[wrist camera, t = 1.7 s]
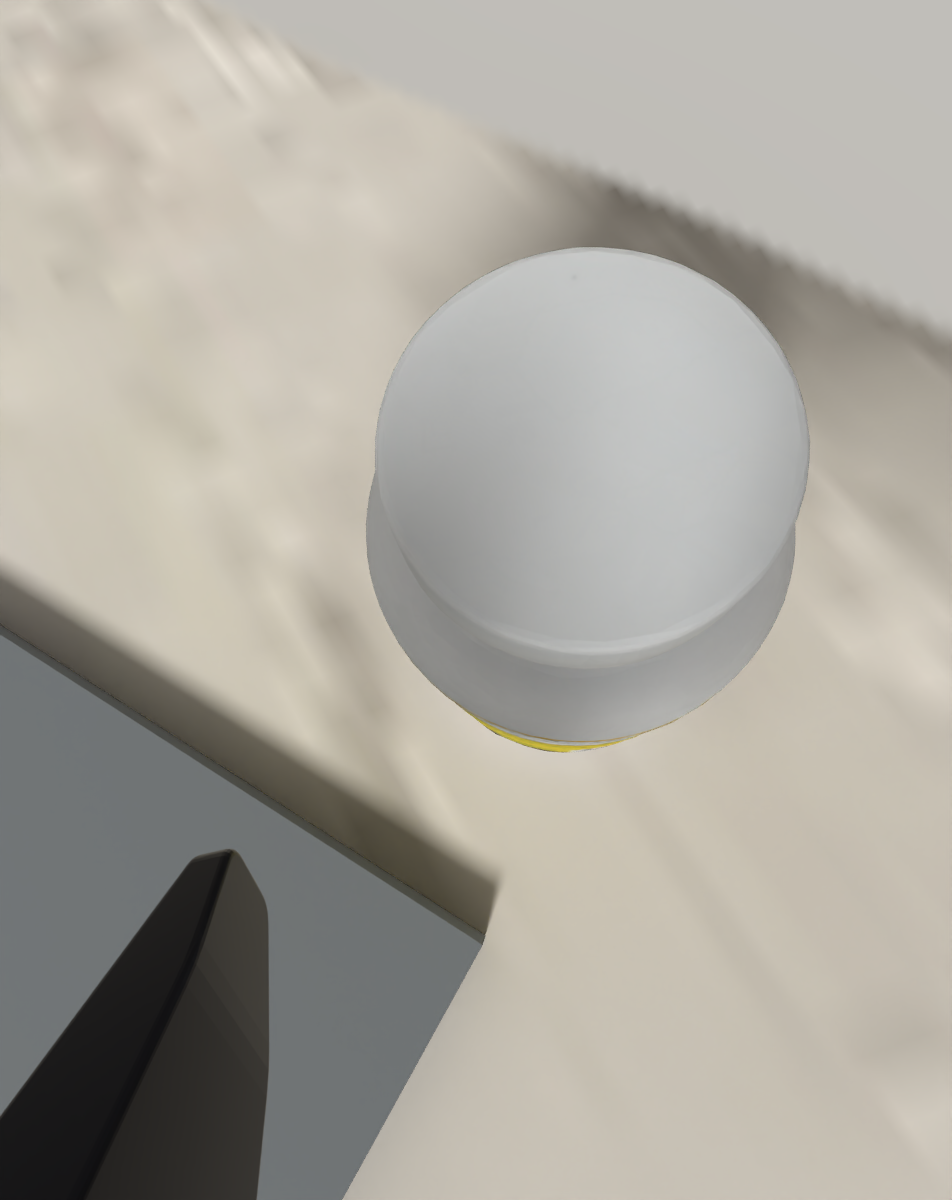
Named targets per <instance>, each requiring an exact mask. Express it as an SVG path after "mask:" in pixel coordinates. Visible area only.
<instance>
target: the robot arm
mask: <svg viewBox="0 0 952 1200" xmlns="http://www.w3.org/2000/svg"><path fill="white" fill-rule="evenodd" d="M268 1078H269V923H268V911H267V906H266V902H265V899H264V897H263V894H262V893H261V891H260V889H259V887H258V885H257V884H256V882H255V880H254V878H253V876H252V875H251V873H250V871H249V869H248V868H247V866H246V864H245V862H244V860H243V859H242V857H241V856H240V854H239V853H238V852H237V851H236V850H234V849H224V850H219V851H215V852H211V853H206V854H202V855H198V856H196V857H194V858H193V859H192V860H191V861H190V862H189V863H188V864H187V865H186V867H185V868H184V869H183V871H182V872H181V874H180V875H179V876H178V878H177V879H176V880H175V882H174V883H173V884H172V886H171V887H170V888H169V890H168V891H167V892H166V894H165V895H164V896H163V898H162V899H161V900H160V902H159V903H158V904H157V906H156V907H155V908H154V910H153V911H152V912H151V914H150V915H149V917H148V918H147V919H146V921H145V922H144V923H143V925H142V926H141V927H140V929H139V930H138V931H137V933H136V934H135V935H134V937H133V938H132V939H131V941H130V942H129V943H128V945H127V946H126V947H125V949H124V950H123V951H122V953H121V954H120V956H119V957H118V958H117V960H116V961H115V962H114V964H113V965H112V966H111V968H110V969H109V970H108V972H107V973H106V974H105V976H104V977H103V978H102V980H101V981H100V982H99V984H98V985H97V986H96V988H95V989H94V990H93V992H92V993H91V994H90V996H89V997H88V999H87V1000H86V1001H85V1003H84V1004H83V1005H82V1007H81V1008H80V1009H79V1011H78V1012H77V1013H76V1015H75V1016H74V1017H73V1019H72V1020H71V1021H70V1023H69V1024H68V1025H67V1027H66V1028H65V1029H64V1031H63V1032H62V1033H61V1035H60V1036H59V1038H58V1039H57V1040H56V1042H55V1043H54V1044H53V1046H52V1047H51V1048H50V1050H49V1051H48V1052H47V1054H46V1055H45V1056H44V1058H43V1059H42V1060H41V1062H40V1063H39V1064H38V1066H37V1067H36V1068H35V1070H34V1071H33V1072H32V1074H31V1075H30V1076H29V1078H28V1079H27V1081H26V1082H25V1083H24V1085H23V1086H22V1087H21V1089H20V1090H19V1091H18V1093H17V1094H16V1095H15V1097H14V1098H13V1099H12V1101H11V1102H10V1103H9V1105H8V1106H7V1107H6V1109H5V1110H4V1111H3V1113H2V1114H1V1115H0V1200H257V1194H258V1184H259V1174H260V1164H261V1154H262V1144H263V1134H264V1123H265V1113H266V1103H267V1092H268Z"/></svg>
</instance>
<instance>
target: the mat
mask: <svg viewBox="0 0 952 1200" xmlns="http://www.w3.org/2000/svg"><path fill="white" fill-rule="evenodd" d="M224 849H234V850H236V851H237V852H238V853H239V854H240V856H241V857H242V859H243V860H244V862H245V864H246V866H247V868H248V869H249V871H250V873H251V875H252V876H253V878H254V880H255V882H256V884H257V885H258V887H259V889H260V891H261V893H262V894H263V897H264V899H265V902H266V906H267V911H268V923H269V1078H268V1092H267V1103H266V1113H265V1123H264V1134H263V1144H262V1154H261V1164H260V1174H259V1184H258V1194H257V1200H342V1199H343V1197H344V1195H345V1193H346V1192H347V1190H348V1188H349V1186H350V1184H351V1183H352V1181H353V1179H354V1177H355V1175H356V1174H357V1172H358V1170H359V1168H360V1166H361V1164H362V1163H363V1161H364V1159H365V1157H366V1155H367V1154H368V1152H369V1150H370V1148H371V1146H372V1144H373V1143H374V1141H375V1139H376V1137H377V1135H378V1134H379V1132H380V1130H381V1128H382V1126H383V1125H384V1123H385V1121H386V1119H387V1117H388V1115H389V1114H390V1112H391V1110H392V1108H393V1106H394V1105H395V1103H396V1101H397V1099H398V1097H399V1095H400V1094H401V1092H402V1090H403V1088H404V1086H405V1085H406V1083H407V1081H408V1079H409V1077H410V1076H411V1074H412V1072H413V1070H414V1068H415V1066H416V1065H417V1063H418V1061H419V1059H420V1057H421V1056H422V1054H423V1052H424V1050H425V1048H426V1046H427V1045H428V1043H429V1041H430V1039H431V1037H432V1036H433V1034H434V1032H435V1030H436V1028H437V1027H438V1025H439V1023H440V1021H441V1019H442V1017H443V1016H444V1014H445V1012H446V1010H447V1008H448V1007H449V1005H450V1003H451V1001H452V999H453V998H454V996H455V994H456V992H457V990H458V988H459V987H460V985H461V983H462V981H463V979H464V978H465V976H466V974H467V972H468V970H469V968H470V967H471V965H472V963H473V961H474V959H475V958H476V956H477V954H478V952H479V950H480V949H481V947H482V945H483V942H484V939H485V935H484V934H482V933H481V932H479V931H477V930H476V929H474V928H473V927H471V926H470V925H468V924H466V923H465V922H463V921H462V920H460V919H459V918H457V917H456V916H454V915H452V914H451V913H449V912H448V911H446V910H445V909H443V908H441V907H440V906H438V905H437V904H435V903H434V902H432V901H431V900H429V899H427V898H426V897H424V896H423V895H421V894H420V893H418V892H417V891H415V890H413V889H412V888H410V887H409V886H407V885H406V884H404V883H402V882H401V881H399V880H398V879H396V878H395V877H393V876H392V875H390V874H388V873H387V872H385V871H384V870H382V869H381V868H379V867H377V866H376V865H374V864H373V863H371V862H370V861H368V860H367V859H365V858H363V857H362V856H360V855H359V854H357V853H356V852H354V851H353V850H351V849H349V848H348V847H346V846H345V845H343V844H342V843H340V842H338V841H337V840H335V839H334V838H332V837H331V836H329V835H328V834H326V833H324V832H323V831H321V830H320V829H318V828H317V827H315V826H313V825H312V824H310V823H309V822H307V821H306V820H304V819H303V818H301V817H299V816H298V815H296V814H295V813H293V812H292V811H290V810H289V809H287V808H285V807H284V806H282V805H281V804H279V803H278V802H276V801H274V800H273V799H271V798H270V797H268V796H267V795H265V794H264V793H262V792H260V791H259V790H257V789H256V788H254V787H253V786H251V785H249V784H248V783H246V782H245V781H243V780H242V779H240V778H239V777H237V776H235V775H234V774H232V773H231V772H229V771H228V770H226V769H225V768H223V767H221V766H220V765H218V764H217V763H215V762H214V761H212V760H210V759H209V758H207V757H206V756H204V755H203V754H201V753H200V752H198V751H196V750H195V749H193V748H192V747H190V746H189V745H187V744H185V743H184V742H182V741H181V740H179V739H178V738H176V737H175V736H173V735H171V734H170V733H168V732H167V731H165V730H164V729H162V728H161V727H159V726H157V725H156V724H154V723H153V722H151V721H150V720H148V719H146V718H145V717H143V716H142V715H140V714H139V713H137V712H136V711H134V710H132V709H131V708H129V707H128V706H126V705H125V704H123V703H121V702H120V701H118V700H117V699H115V698H114V697H112V696H111V695H109V694H107V693H106V692H104V691H103V690H101V689H100V688H98V687H97V686H95V685H93V684H92V683H90V682H89V681H87V680H86V679H84V678H82V677H81V676H79V675H78V674H76V673H75V672H73V671H72V670H70V669H68V668H67V667H65V666H64V665H62V664H61V663H59V662H57V661H56V660H54V659H53V658H51V657H50V656H48V655H47V654H45V653H43V652H42V651H40V650H39V649H37V648H36V647H34V646H33V645H31V644H29V643H28V642H26V641H25V640H23V639H22V638H20V637H18V636H17V635H15V634H14V633H12V632H11V631H9V630H8V629H6V628H4V627H3V626H1V625H0V1115H1V1114H2V1113H3V1111H4V1110H5V1109H6V1107H7V1106H8V1105H9V1103H10V1102H11V1101H12V1099H13V1098H14V1097H15V1095H16V1094H17V1093H18V1091H19V1090H20V1089H21V1087H22V1086H23V1085H24V1083H25V1082H26V1081H27V1079H28V1078H29V1076H30V1075H31V1074H32V1072H33V1071H34V1070H35V1068H36V1067H37V1066H38V1064H39V1063H40V1062H41V1060H42V1059H43V1058H44V1056H45V1055H46V1054H47V1052H48V1051H49V1050H50V1048H51V1047H52V1046H53V1044H54V1043H55V1042H56V1040H57V1039H58V1038H59V1036H60V1035H61V1033H62V1032H63V1031H64V1029H65V1028H66V1027H67V1025H68V1024H69V1023H70V1021H71V1020H72V1019H73V1017H74V1016H75V1015H76V1013H77V1012H78V1011H79V1009H80V1008H81V1007H82V1005H83V1004H84V1003H85V1001H86V1000H87V999H88V997H89V996H90V994H91V993H92V992H93V990H94V989H95V988H96V986H97V985H98V984H99V982H100V981H101V980H102V978H103V977H104V976H105V974H106V973H107V972H108V970H109V969H110V968H111V966H112V965H113V964H114V962H115V961H116V960H117V958H118V957H119V956H120V954H121V953H122V951H123V950H124V949H125V947H126V946H127V945H128V943H129V942H130V941H131V939H132V938H133V937H134V935H135V934H136V933H137V931H138V930H139V929H140V927H141V926H142V925H143V923H144V922H145V921H146V919H147V918H148V917H149V915H150V914H151V912H152V911H153V910H154V908H155V907H156V906H157V904H158V903H159V902H160V900H161V899H162V898H163V896H164V895H165V894H166V892H167V891H168V890H169V888H170V887H171V886H172V884H173V883H174V882H175V880H176V879H177V878H178V876H179V875H180V874H181V872H182V871H183V869H184V868H185V867H186V865H187V864H188V863H189V862H190V861H191V860H192V859H193V858H194V857H196V856H198V855H202V854H206V853H211V852H215V851H219V850H224Z"/></svg>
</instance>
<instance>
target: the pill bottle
mask: <svg viewBox="0 0 952 1200" xmlns="http://www.w3.org/2000/svg"><path fill="white" fill-rule="evenodd" d="M809 450H810V439H809V431H808V422H807V416H806V411H805V407H804V403H803V399H802V395H801V392H800V389H799V386H798V383H797V380H796V377H795V375H794V373H793V371H792V369H791V366H790V364H789V362H788V360H787V358H786V356H785V354H784V352H783V351H782V349H781V347H780V346H779V344H778V343H777V341H776V340H775V339H774V337H773V336H772V334H771V333H770V332H769V330H768V329H767V327H766V326H765V325H764V324H763V323H762V322H761V320H760V319H759V318H758V317H757V316H756V315H755V314H754V313H753V312H752V310H750V309H749V308H748V307H747V306H746V305H745V304H744V303H742V302H741V301H740V300H739V299H738V298H737V297H736V296H734V295H733V294H732V293H730V292H729V291H728V290H726V289H725V288H723V287H722V286H721V285H719V284H718V283H717V282H715V281H714V280H712V279H710V278H708V277H706V276H704V275H702V274H701V273H699V272H696V271H694V270H692V269H690V268H688V267H686V266H684V265H682V264H679V263H677V262H674V261H672V260H669V259H666V258H662V257H659V256H656V255H653V254H648V253H643V252H638V251H634V250H626V249H616V248H604V247H576V248H569V249H562V250H556V251H551V252H546V253H541V254H537V255H533V256H530V257H527V258H524V259H521V260H517V261H515V262H512V263H509V264H507V265H505V266H502V267H500V268H498V269H496V270H493V271H491V272H489V273H487V274H486V275H484V276H482V277H481V278H479V279H477V280H476V281H474V282H472V283H471V284H469V285H467V286H466V287H464V288H463V289H462V290H461V291H459V292H458V293H457V294H455V295H454V296H453V297H451V298H450V299H449V300H448V301H447V302H446V303H445V304H444V305H442V306H441V307H440V308H439V309H438V310H437V311H436V312H435V313H434V314H433V315H432V316H431V317H430V318H429V319H428V320H427V321H426V322H425V323H424V324H423V326H422V327H421V328H420V329H419V331H418V332H417V333H416V334H415V336H414V337H413V338H412V340H411V341H410V343H409V344H408V346H407V348H406V349H405V351H404V352H403V354H402V355H401V357H400V359H399V361H398V363H397V365H396V367H395V369H394V371H393V373H392V375H391V378H390V380H389V383H388V385H387V388H386V391H385V394H384V398H383V401H382V404H381V407H380V412H379V417H378V422H377V430H376V439H375V469H376V470H375V474H374V478H373V482H372V486H371V491H370V495H369V501H368V508H367V519H366V542H367V557H368V564H369V570H370V575H371V579H372V583H373V587H374V590H375V593H376V596H377V599H378V602H379V605H380V607H381V610H382V612H383V614H384V616H385V619H386V621H387V623H388V625H389V626H390V628H391V630H392V632H393V634H394V636H395V637H396V639H397V641H398V643H399V644H400V646H401V647H402V649H403V650H404V651H405V653H406V654H407V656H408V657H409V658H410V660H411V661H412V663H413V664H414V665H415V666H416V667H417V668H418V669H419V670H420V671H421V672H422V674H423V675H424V676H425V677H426V678H427V679H428V680H429V681H430V682H431V683H432V684H433V685H434V686H435V687H436V688H438V689H439V690H440V691H441V692H442V693H443V694H444V695H445V696H447V697H448V698H449V699H451V700H452V701H454V702H455V703H456V704H457V705H459V706H460V707H461V708H462V709H464V710H465V711H466V712H467V713H468V714H470V715H471V716H473V717H474V718H475V719H477V720H478V721H479V722H480V723H482V724H483V725H484V726H485V727H487V728H488V729H489V730H491V731H492V732H494V733H495V734H497V735H500V736H502V737H505V738H507V739H509V740H511V741H513V742H516V743H519V744H522V745H524V746H528V747H531V748H535V749H539V750H544V751H552V752H581V751H587V750H593V749H598V748H602V747H607V746H609V745H613V744H616V743H619V742H621V741H624V740H627V739H631V738H634V737H636V736H638V735H640V734H643V733H645V732H648V731H651V730H654V729H656V728H659V727H662V726H664V725H667V724H669V723H672V722H673V721H675V720H677V719H679V718H681V717H682V716H684V715H686V714H688V713H689V712H691V711H693V710H694V709H696V708H698V707H699V706H701V705H702V704H704V703H705V702H707V701H708V700H709V699H710V698H712V697H713V696H714V695H715V694H717V693H718V692H719V691H721V690H722V689H723V688H724V687H725V686H726V685H727V684H728V683H729V682H730V681H731V680H732V679H733V678H735V677H736V675H737V674H738V673H739V672H740V671H741V670H742V669H743V668H744V667H745V666H746V665H747V664H748V662H749V661H750V660H751V658H752V657H753V656H754V655H755V653H756V652H757V651H758V649H759V648H760V646H761V645H762V643H763V642H764V640H765V639H766V637H767V635H768V634H769V632H770V630H771V628H772V626H773V624H774V623H775V621H776V619H777V616H778V614H779V612H780V609H781V607H782V605H783V603H784V600H785V596H786V593H787V589H788V586H789V582H790V578H791V573H792V569H793V562H794V555H795V522H796V520H797V517H798V514H799V511H800V507H801V504H802V500H803V497H804V493H805V489H806V483H807V476H808V467H809Z"/></svg>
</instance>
